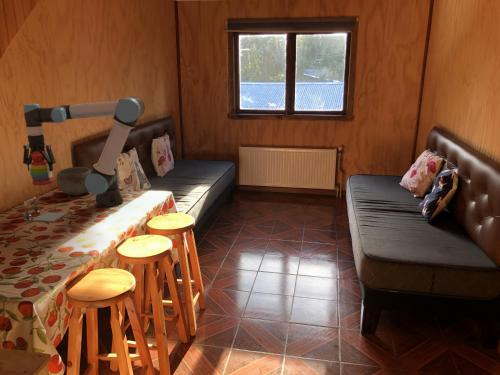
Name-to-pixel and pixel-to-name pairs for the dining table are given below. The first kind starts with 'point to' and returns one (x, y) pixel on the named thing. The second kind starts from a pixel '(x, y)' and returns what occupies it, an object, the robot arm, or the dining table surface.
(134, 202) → the dining table surface
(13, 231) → the dining table surface
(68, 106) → the robot arm
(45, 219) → the mat
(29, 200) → the miniature post railing
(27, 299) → the dining table surface
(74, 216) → the dining table surface
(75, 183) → the bowl
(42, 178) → the stacking bear
